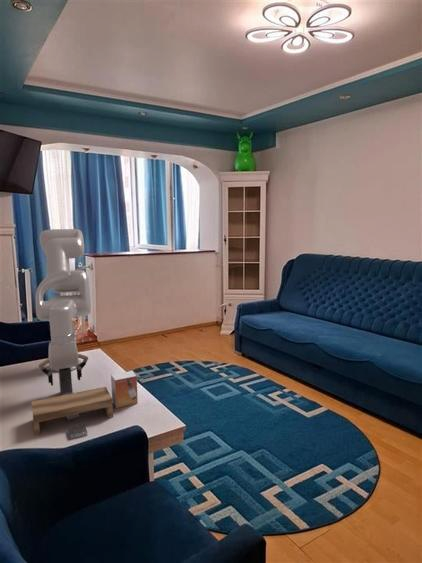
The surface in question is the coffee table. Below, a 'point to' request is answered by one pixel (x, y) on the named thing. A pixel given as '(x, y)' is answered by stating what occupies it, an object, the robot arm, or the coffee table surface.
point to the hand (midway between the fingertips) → (65, 381)
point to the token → (77, 431)
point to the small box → (124, 389)
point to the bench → (71, 405)
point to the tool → (66, 385)
